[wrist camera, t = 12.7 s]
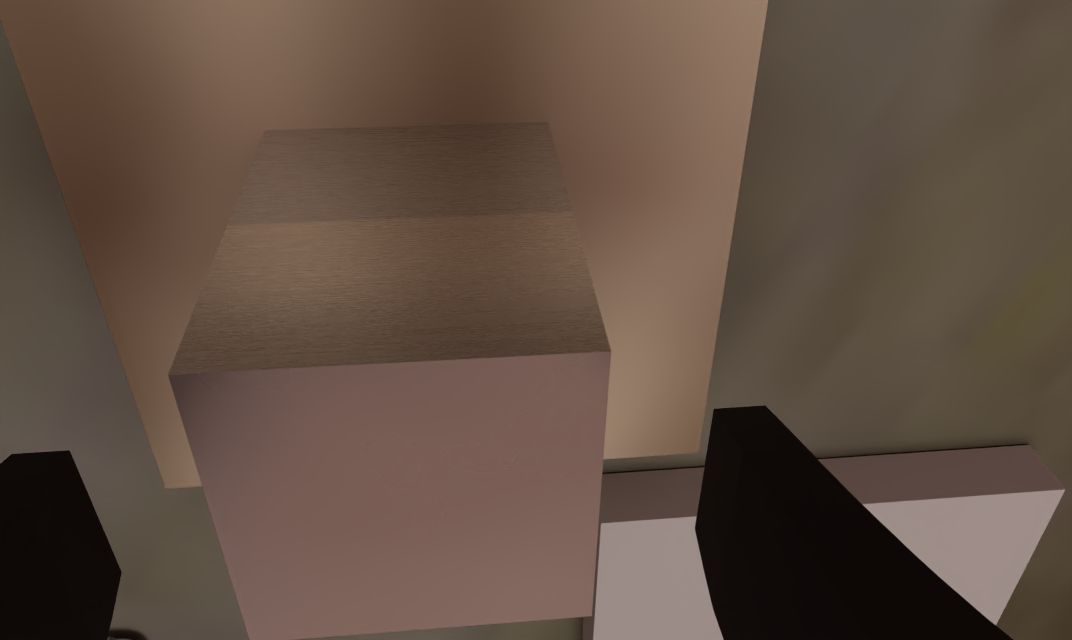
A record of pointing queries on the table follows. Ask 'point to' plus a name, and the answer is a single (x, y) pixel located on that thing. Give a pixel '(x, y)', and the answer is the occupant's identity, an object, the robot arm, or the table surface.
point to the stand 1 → (403, 100)
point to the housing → (400, 383)
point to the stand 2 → (875, 481)
